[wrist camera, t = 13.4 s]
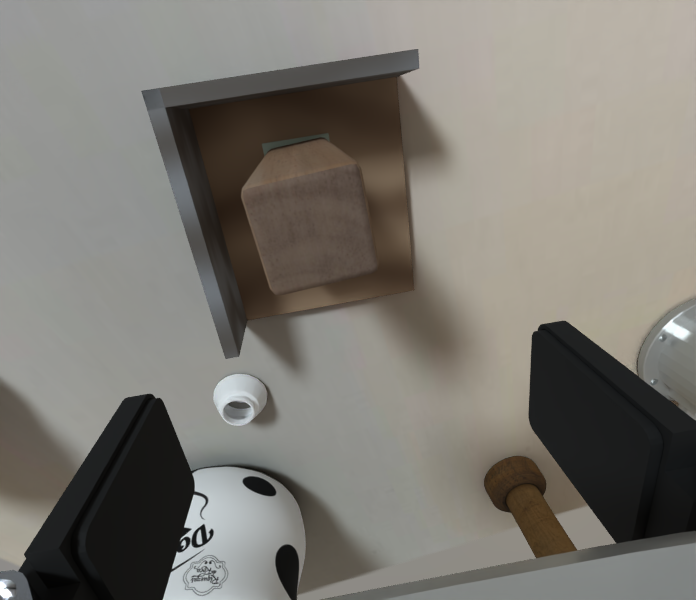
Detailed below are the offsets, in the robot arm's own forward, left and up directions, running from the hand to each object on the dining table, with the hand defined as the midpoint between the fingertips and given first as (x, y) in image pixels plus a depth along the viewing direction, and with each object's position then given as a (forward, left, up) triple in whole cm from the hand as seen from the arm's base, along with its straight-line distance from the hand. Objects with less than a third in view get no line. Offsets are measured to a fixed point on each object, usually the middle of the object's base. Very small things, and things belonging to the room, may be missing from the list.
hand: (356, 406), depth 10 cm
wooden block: (0, 0, -25) cm, 25 cm away
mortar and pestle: (-36, -18, -26) cm, 48 cm away
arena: (0, 0, -26) cm, 26 cm away
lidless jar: (-17, +10, -26) cm, 33 cm away
